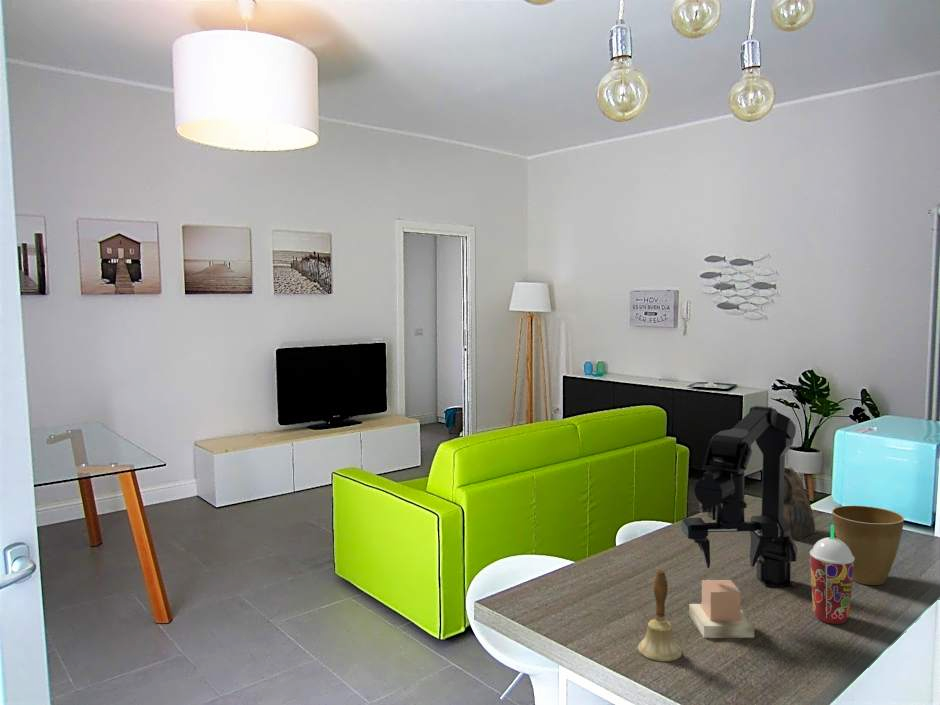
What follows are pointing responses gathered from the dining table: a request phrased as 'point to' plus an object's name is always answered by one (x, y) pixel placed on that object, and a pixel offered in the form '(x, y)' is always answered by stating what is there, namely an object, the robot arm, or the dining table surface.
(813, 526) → the owl
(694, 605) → the base
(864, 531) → the plant pot
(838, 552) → the smoothie
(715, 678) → the dining table surface
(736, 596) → the cube
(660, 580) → the hand bell
